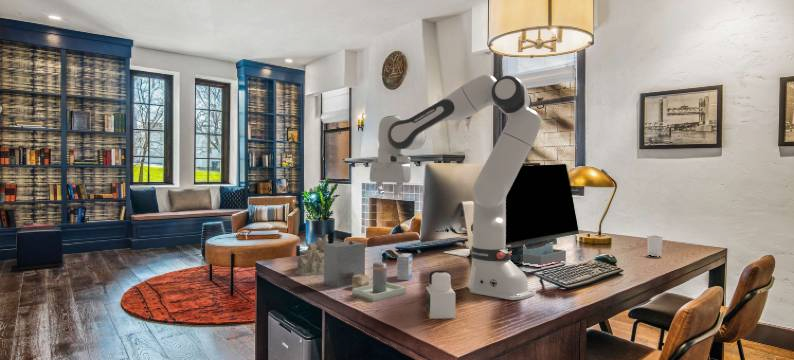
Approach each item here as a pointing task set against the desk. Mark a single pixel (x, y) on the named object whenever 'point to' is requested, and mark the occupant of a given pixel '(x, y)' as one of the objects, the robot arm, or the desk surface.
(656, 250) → the drinking glass
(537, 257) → the organizer bin
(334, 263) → the console
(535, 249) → the squiggly pen holder
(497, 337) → the desk surface
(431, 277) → the medicine bottle
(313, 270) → the ceramic cottage
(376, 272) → the cartridge
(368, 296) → the tray
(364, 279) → the maple block
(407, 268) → the medicine box
